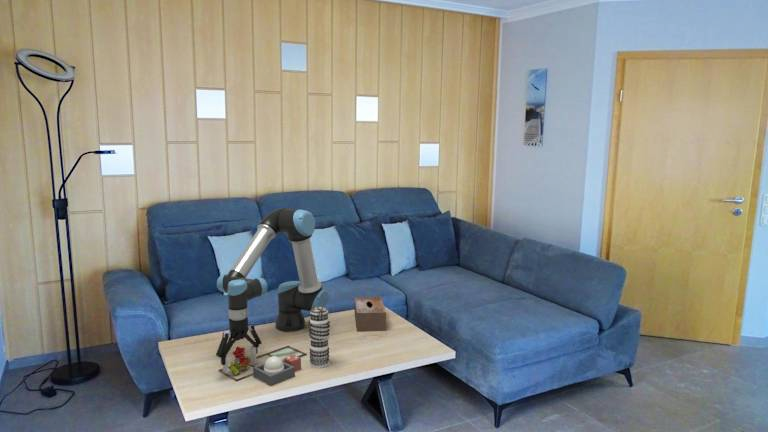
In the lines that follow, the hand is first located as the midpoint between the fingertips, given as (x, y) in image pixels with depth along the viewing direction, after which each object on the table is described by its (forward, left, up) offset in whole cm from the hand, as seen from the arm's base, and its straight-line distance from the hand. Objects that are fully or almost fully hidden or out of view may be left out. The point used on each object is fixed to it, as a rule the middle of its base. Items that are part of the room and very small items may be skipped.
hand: (240, 366), depth 230 cm
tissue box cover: (-2, +80, -3) cm, 80 cm away
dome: (+14, +7, -1) cm, 16 cm away
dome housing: (+14, +10, -2) cm, 17 cm away
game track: (0, +12, -2) cm, 12 cm away
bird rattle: (0, 0, -2) cm, 2 cm away
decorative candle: (+18, +28, -2) cm, 33 cm away
